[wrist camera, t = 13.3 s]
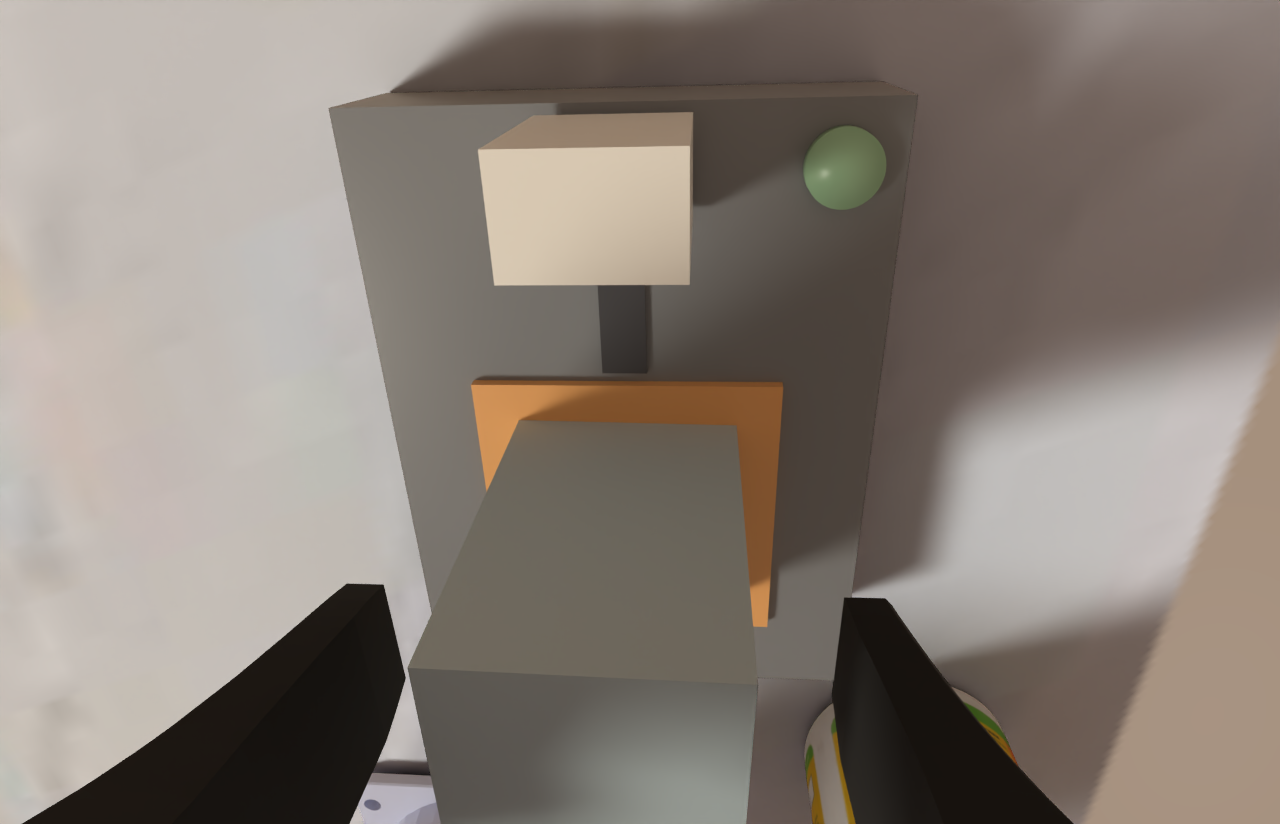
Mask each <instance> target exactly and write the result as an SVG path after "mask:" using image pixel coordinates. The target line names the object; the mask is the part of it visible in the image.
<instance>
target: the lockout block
mask: <svg viewBox="0 0 1280 824" xmlns="http://www.w3.org/2000/svg"><path fill="white" fill-rule="evenodd" d="M408 672H409V677H410V682H411V686H412V691H413V696H414V700H415V705H416V710H417V714H418V719H419V724H420V728H421V733H422V738H423V743H424V747H425V752H426V757H427V761H428V766H429V771H430V775H431V780H432V785H433V789H434V794H435V799H436V804H437V808H438V813H439V818H440V822H441V824H746V819H747V807H748V795H749V784H750V772H751V760H752V748H753V737H754V725H755V713H756V701H757V689H758V680H757V668H756V656H755V644H754V631H753V619H752V607H751V595H750V583H749V570H748V558H747V546H746V534H745V522H744V509H743V497H742V485H741V473H740V461H739V448H738V436H737V425H699V424H659V423H618V422H578V421H538V420H519V421H518V423H517V426H516V428H515V430H514V432H513V434H512V437H511V439H510V441H509V443H508V446H507V448H506V450H505V452H504V454H503V457H502V459H501V461H500V463H499V466H498V468H497V470H496V472H495V475H494V477H493V479H492V481H491V483H490V486H489V488H488V490H487V492H486V495H485V497H484V499H483V501H482V503H481V506H480V508H479V510H478V512H477V515H476V517H475V519H474V521H473V523H472V526H471V528H470V530H469V532H468V535H467V537H466V539H465V541H464V543H463V546H462V548H461V550H460V552H459V555H458V557H457V559H456V561H455V564H454V566H453V568H452V570H451V572H450V575H449V577H448V579H447V581H446V584H445V586H444V588H443V590H442V592H441V595H440V597H439V599H438V601H437V604H436V606H435V608H434V610H433V612H432V615H431V617H430V619H429V621H428V624H427V626H426V628H425V630H424V632H423V635H422V637H421V639H420V641H419V644H418V646H417V648H416V650H415V653H414V655H413V657H412V659H411V661H410V664H409V666H408Z"/></svg>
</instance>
